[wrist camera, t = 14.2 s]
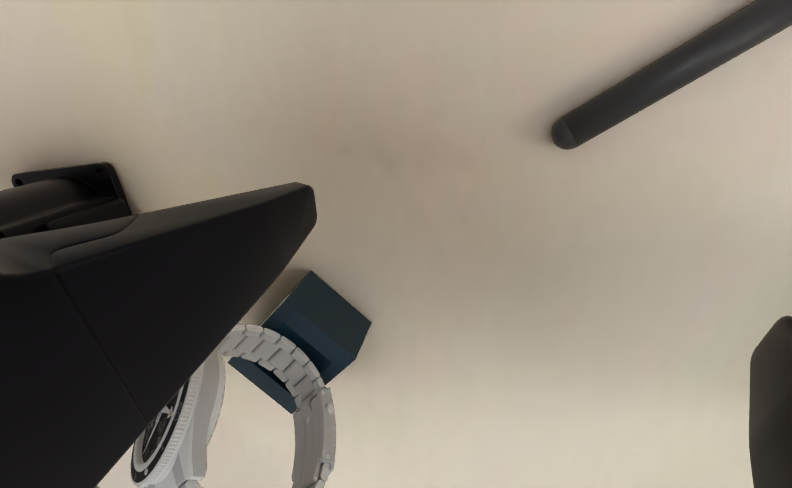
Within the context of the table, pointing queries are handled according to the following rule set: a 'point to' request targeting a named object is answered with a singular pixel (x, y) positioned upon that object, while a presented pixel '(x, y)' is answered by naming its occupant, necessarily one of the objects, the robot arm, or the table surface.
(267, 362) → the watch
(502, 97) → the table surface
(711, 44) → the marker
